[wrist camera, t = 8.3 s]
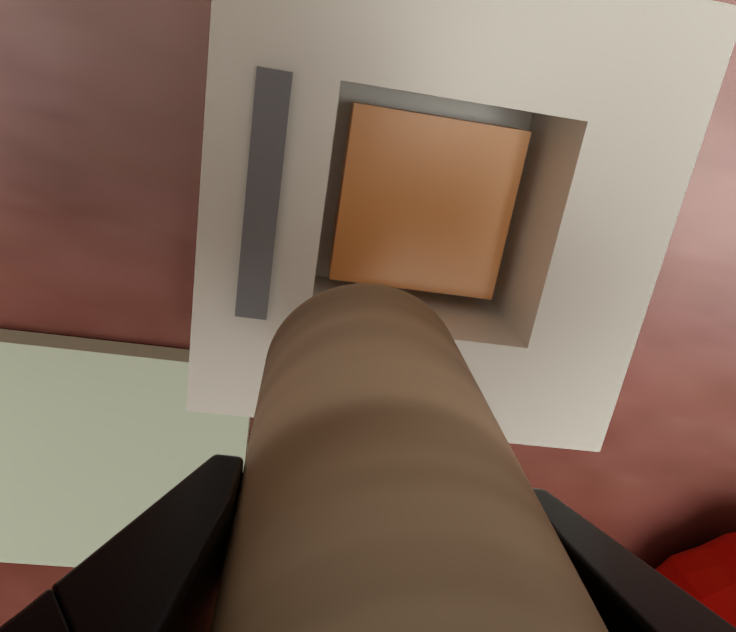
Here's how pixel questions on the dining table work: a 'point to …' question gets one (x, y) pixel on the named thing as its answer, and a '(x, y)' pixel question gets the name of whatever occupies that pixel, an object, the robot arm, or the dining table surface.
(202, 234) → the box
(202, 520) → the robot arm
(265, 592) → the tan cylinder
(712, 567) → the tomato
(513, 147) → the guard button
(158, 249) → the dining table surface
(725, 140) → the dining table surface
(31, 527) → the rest pad
